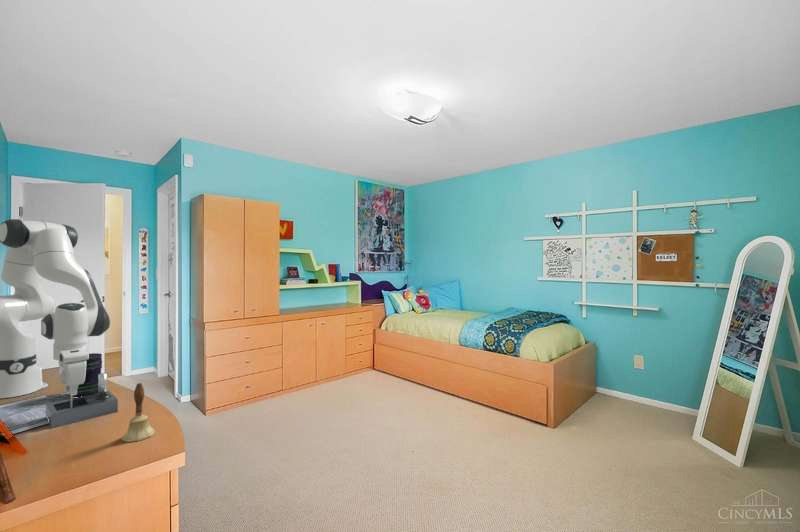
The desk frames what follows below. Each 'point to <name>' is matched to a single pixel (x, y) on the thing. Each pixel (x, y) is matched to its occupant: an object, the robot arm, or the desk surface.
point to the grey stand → (83, 406)
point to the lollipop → (62, 379)
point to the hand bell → (138, 420)
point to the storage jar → (90, 376)
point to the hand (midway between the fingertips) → (71, 392)
